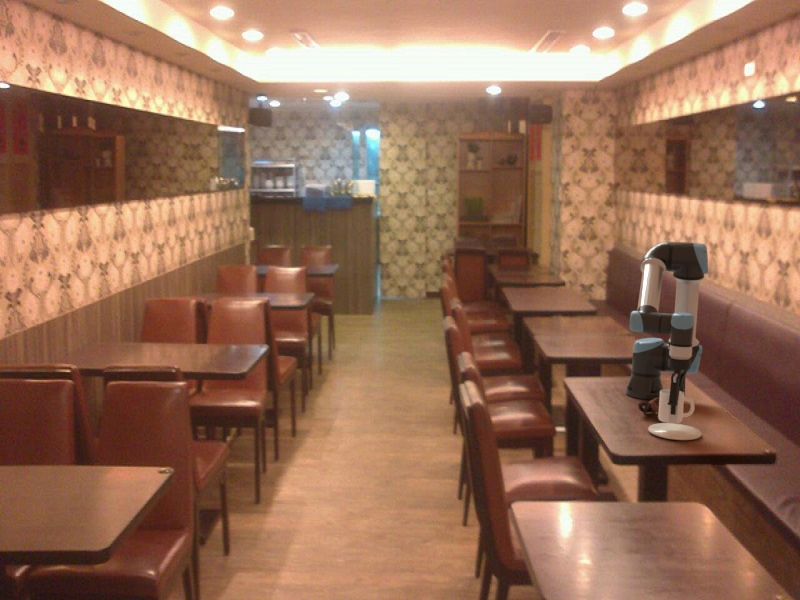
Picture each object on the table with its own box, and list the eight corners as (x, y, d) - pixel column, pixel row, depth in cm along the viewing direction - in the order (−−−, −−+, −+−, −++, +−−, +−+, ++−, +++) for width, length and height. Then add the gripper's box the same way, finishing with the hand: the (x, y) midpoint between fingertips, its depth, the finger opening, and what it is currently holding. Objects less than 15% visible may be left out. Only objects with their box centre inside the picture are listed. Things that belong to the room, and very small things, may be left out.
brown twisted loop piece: (661, 413, 355) (671, 398, 350) (665, 431, 347) (675, 415, 342) (632, 406, 353) (641, 390, 349) (636, 423, 346) (645, 407, 341)
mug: (692, 419, 330) (694, 391, 328) (694, 425, 322) (696, 396, 321) (657, 416, 333) (659, 388, 331) (658, 422, 325) (660, 394, 323)
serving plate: (654, 423, 340) (654, 420, 340) (705, 431, 332) (705, 428, 332) (642, 436, 324) (643, 433, 324) (695, 444, 316) (695, 441, 316)
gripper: (675, 350, 334) (671, 411, 338) (662, 361, 316) (657, 425, 320) (696, 353, 331) (692, 414, 335) (684, 364, 313) (680, 429, 316)
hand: (675, 419), depth 327 cm, fingers closed on mug, 8 cm apart
